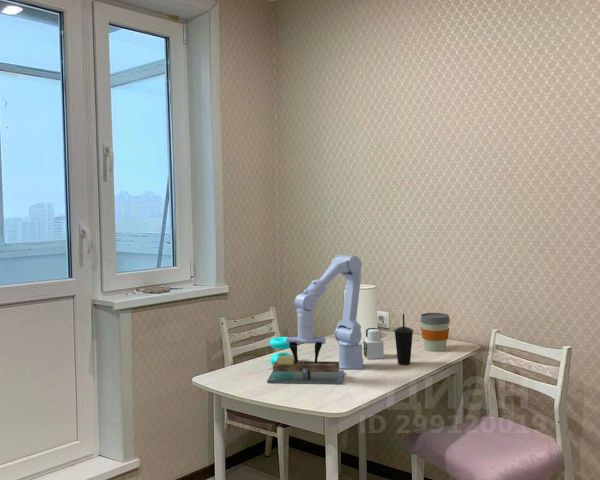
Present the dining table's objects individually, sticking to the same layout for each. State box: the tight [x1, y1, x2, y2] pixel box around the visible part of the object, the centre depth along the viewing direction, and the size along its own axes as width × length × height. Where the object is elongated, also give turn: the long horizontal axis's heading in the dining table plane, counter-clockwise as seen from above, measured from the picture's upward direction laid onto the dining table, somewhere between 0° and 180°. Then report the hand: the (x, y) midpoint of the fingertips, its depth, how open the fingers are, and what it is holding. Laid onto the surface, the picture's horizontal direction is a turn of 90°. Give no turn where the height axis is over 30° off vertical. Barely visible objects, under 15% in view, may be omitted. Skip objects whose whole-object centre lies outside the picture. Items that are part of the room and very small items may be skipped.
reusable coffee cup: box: [420, 312, 451, 353], centre depth 248 cm, size 13×13×15 cm
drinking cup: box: [393, 313, 414, 366], centre depth 226 cm, size 8×8×20 cm
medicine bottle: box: [362, 327, 385, 360], centre depth 238 cm, size 7×7×12 cm
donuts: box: [269, 336, 293, 365], centre depth 231 cm, size 10×10×10 cm
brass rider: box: [277, 356, 295, 366], centre depth 211 cm, size 6×4×3 cm
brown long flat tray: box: [272, 360, 340, 372], centre depth 210 cm, size 24×6×2 cm, turn 83°
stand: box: [266, 367, 345, 385], centre depth 210 cm, size 27×14×5 cm, turn 83°
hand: (306, 362), depth 210 cm, fingers open, 7 cm apart
